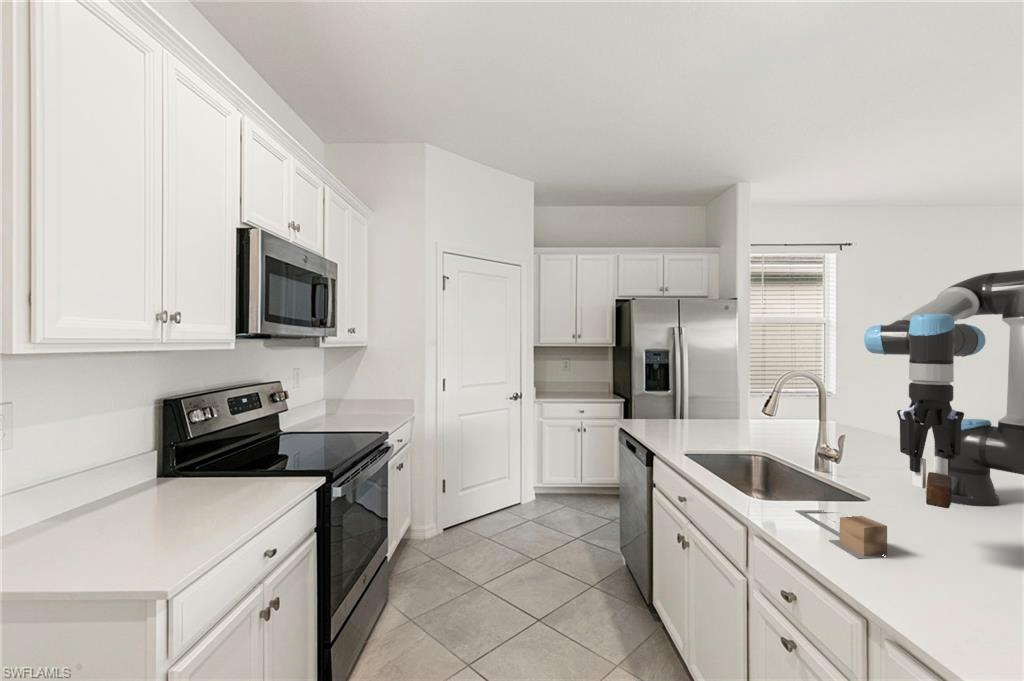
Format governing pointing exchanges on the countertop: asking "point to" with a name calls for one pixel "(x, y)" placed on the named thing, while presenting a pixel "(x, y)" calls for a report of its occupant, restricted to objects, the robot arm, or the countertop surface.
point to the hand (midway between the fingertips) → (929, 486)
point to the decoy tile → (855, 552)
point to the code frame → (803, 512)
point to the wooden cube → (863, 535)
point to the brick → (938, 490)
